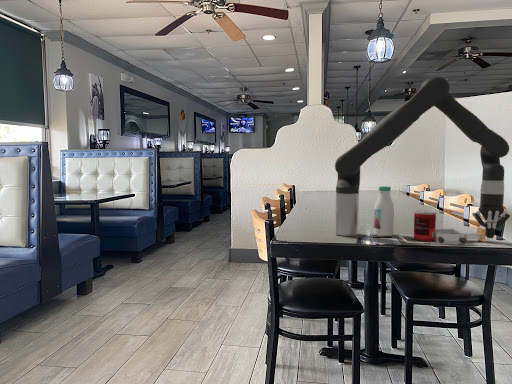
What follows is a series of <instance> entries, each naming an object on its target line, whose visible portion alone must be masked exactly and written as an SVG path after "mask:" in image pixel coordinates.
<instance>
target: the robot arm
mask: <svg viewBox="0 0 512 384" xmlns="http://www.w3.org/2000/svg"><path fill="white" fill-rule="evenodd" d="M434 107H436V109H438V110H439V111H441V112H442V113H443V114H444V115H445V116H446V117H447V118H448V119H449V120H450V121H451V122H452V123H453V124H454V125H455V126H456V128H458V129H459V130H460V131H461V132H462V133H463V134H464V135H465V136H466V137H467V138H468V139H469V140H471V142H472V143H477V144H478V145H480V146H481V147H480V152H479V153H480V154H479V155H480V162H481V166H482V175H481V176H482V177H481V183H480V184H481V185H480V198H479V199H480V202H479V207H478V210H477V211H476V212H472V214H471V215H472V217H474V219H475V221H476V222H477V223H478V224H479V225H480V227H481V226H482V227H484V229H485V230H486V231H485V238H487V239H493V238H494V237H495V235H496V233H495V232H496V228H501V227H502V226H503V225H504V224H505V223H506V221H508V219H509V218H511V215H510V214H509V213H507V212H506V211H505V209H504V201H505V200H504V199H505V167H504V166H503V165H502V164H501V159H500V158H504V157H505V156H507V155H508V154H509V152H510V145H509V143H508V141H507V140H506V139H505V138H504V137H503V136H501V135H500V134H498V133H497V132H495V130H492V129H491V128H489V127H488V126H487V125H486V123H484V122H483V121H482V120H481V119H480V118H479V116H477V115H475V114H474V113H473V112H472V111H470V110H469V109H468V108H466V107H465V106H463V105H462V104H461V103H460V102H459V101H458V100H457V99H455V97H454V96H453V95H452V94H451V93H450V83H449V81H448V80H447V79H446V78H444V77H441V76H433V77H429V78H427V79H425V80H424V81H423V82H422V83H421V85H420V87H419V89H418V91H417V92H416V93H415V94H413V96H411V98H410V99H409V100H407V101H406V102H405V103H403V104H402V105H400V106H398V107H397V108H396V109H394V110H392V111H391V112H390V113H388V114H387V115H386V116H385V117H383V118H382V119H380V121H379V122H378V123H376V124H375V125H374V126H373V127H372V128H371V129H370V130H369V132H367V133H366V134H365V135H364V136H363V138H361V139H360V141H358V143H357V144H355V145H353V146H352V147H351V148H349V149H348V150H347V151H345V152H344V153H343V154H340V156H338V158H337V159H336V160H335V164H334V168H335V169H334V170H335V171H336V173H337V182H336V186H335V210H334V233H335V235H336V236H343V237H345V236H346V237H355V236H358V235H359V207H360V206H359V203H360V186H361V185H360V183H361V167H362V165H363V164H364V163H365V162H366V161H367V160H368V159H370V158H371V157H372V156H373V155H375V154H377V153H378V152H379V151H382V150H384V149H385V148H386V147H387V146H389V145H390V144H392V143H394V141H395V140H397V139H398V138H399V137H400V136H402V134H403V133H404V132H406V131H407V130H408V129H409V128H410V127H411V126H412V125H413V124H414V123H415V122H416V121H418V119H419V118H420V117H421V116H422V115H423V114H425V113H426V112H428V111H429V110H430V109H432V108H434ZM482 217H483V219H482Z"/></svg>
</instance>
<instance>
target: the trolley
mask: <svg viewBox="0 0 512 384" xmlns="http://www.w3.org/2000/svg"><path fill="white" fill-rule="evenodd" d="M485 231H486V230H485V228H482V227H476V232H461V231H459V230H457V229H455V228H435V236H436V237H435V239H434V241H435V242H434V243H465V244H468V241H467V240H477V241H480V242H483V243H484V242H486V236H485Z"/></svg>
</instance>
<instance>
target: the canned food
mask: <svg viewBox="0 0 512 384" xmlns="http://www.w3.org/2000/svg"><path fill="white" fill-rule="evenodd" d="M413 218H414V219H413V235H414V236H413V238H414V240H415V241H418V240H419V241H418V242H434V241H435V239H436V237H435V229H436V225H437V224H436V223H437V222H436V221H437V211H434V210H428V209H427V210H425V209H423V210H422V209H420V210H419V209H418V210H414V215H413Z"/></svg>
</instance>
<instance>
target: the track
mask: <svg viewBox="0 0 512 384" xmlns="http://www.w3.org/2000/svg"><path fill="white" fill-rule="evenodd" d="M397 236H398V237H399V238H400V239H401V240H402V241H403V242H404V241H405V242H404V243H406V244H424V243H431V245H432V244H433V245H458V244H465V246H490V244H489V243H436V242H431V241H408V240H407V238H405V237H414V234H397ZM435 238H436V236H435Z"/></svg>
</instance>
